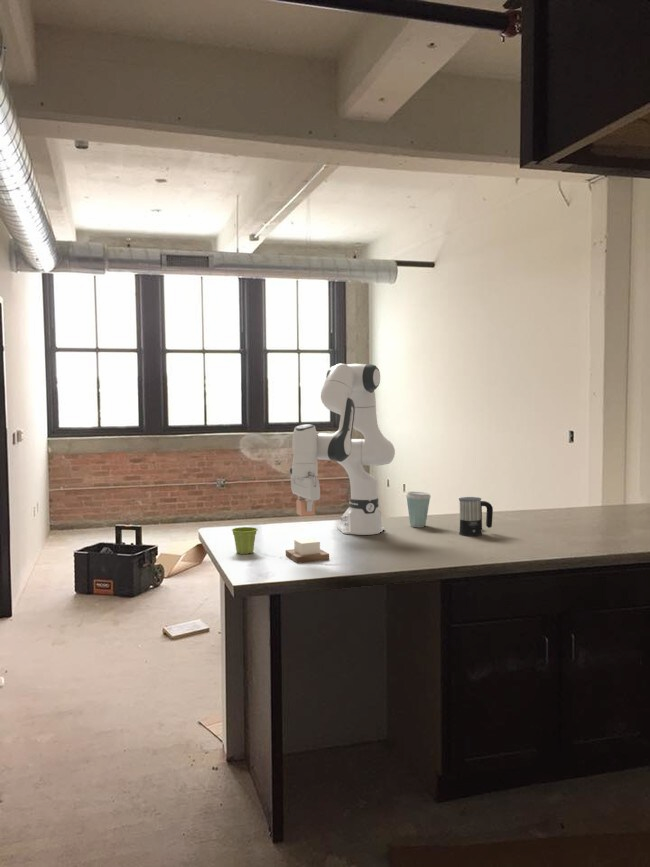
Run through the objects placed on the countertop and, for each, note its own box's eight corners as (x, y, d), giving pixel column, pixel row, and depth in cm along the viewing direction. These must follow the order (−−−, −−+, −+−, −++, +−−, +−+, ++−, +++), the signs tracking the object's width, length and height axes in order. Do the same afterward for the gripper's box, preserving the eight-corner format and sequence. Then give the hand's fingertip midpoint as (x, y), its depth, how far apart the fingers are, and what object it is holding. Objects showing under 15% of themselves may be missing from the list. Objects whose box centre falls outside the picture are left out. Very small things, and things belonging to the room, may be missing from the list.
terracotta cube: (296, 513, 249) (296, 499, 249) (309, 512, 251) (309, 498, 251) (301, 515, 244) (301, 501, 244) (314, 514, 246) (314, 500, 246)
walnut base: (285, 555, 252) (285, 550, 252) (316, 552, 256) (316, 547, 256) (297, 563, 241) (296, 557, 240) (329, 559, 245) (329, 553, 245)
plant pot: (234, 549, 262) (233, 526, 262) (259, 549, 262) (259, 526, 261) (230, 555, 253) (229, 531, 252) (256, 555, 252) (255, 531, 252)
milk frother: (467, 537, 281) (467, 500, 280) (445, 530, 295) (445, 495, 295) (496, 534, 287) (496, 498, 286) (473, 527, 301) (473, 493, 300)
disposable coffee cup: (420, 523, 312) (420, 489, 312) (435, 526, 303) (435, 492, 302) (401, 525, 307) (401, 491, 306) (416, 529, 298) (416, 494, 297)
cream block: (294, 550, 250) (294, 539, 250) (312, 549, 253) (312, 538, 253) (301, 555, 244) (301, 543, 243) (319, 553, 246) (319, 541, 246)
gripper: (324, 473, 238) (324, 513, 239) (303, 467, 257) (304, 504, 258) (307, 474, 236) (307, 514, 237) (287, 468, 255) (288, 506, 256)
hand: (305, 509), depth 248 cm, fingers closed on terracotta cube, 5 cm apart
